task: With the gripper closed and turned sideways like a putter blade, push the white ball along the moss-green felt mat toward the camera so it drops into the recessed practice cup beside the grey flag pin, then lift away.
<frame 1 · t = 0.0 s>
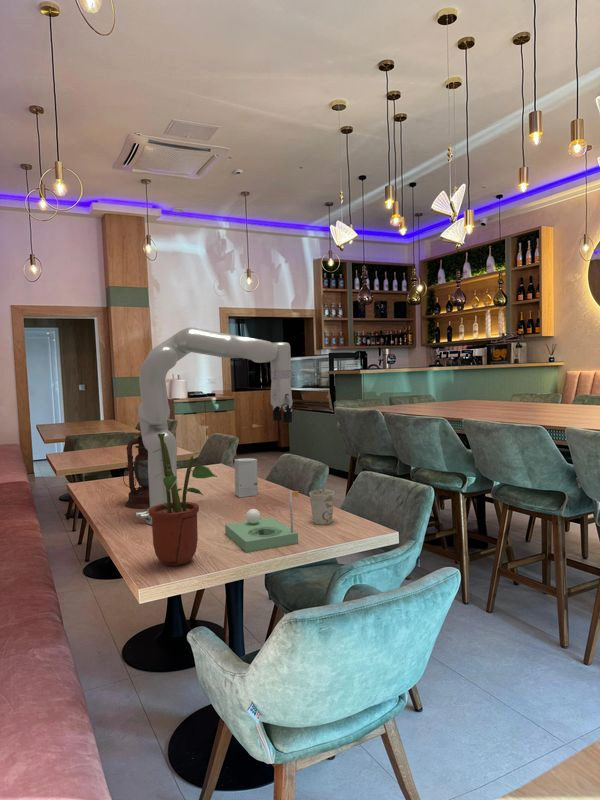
hand: (282, 421, 207), 31 cm above the table, fingers open, 9 cm apart
ball: (253, 516, 172), point 5 cm above the table, touching putting mat
putting mat: (260, 538, 167), on the table
skincare box: (246, 495, 224), on the table
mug: (319, 521, 185), on the table
potted plant: (183, 560, 151), on the table
lantern: (150, 503, 216), on the table
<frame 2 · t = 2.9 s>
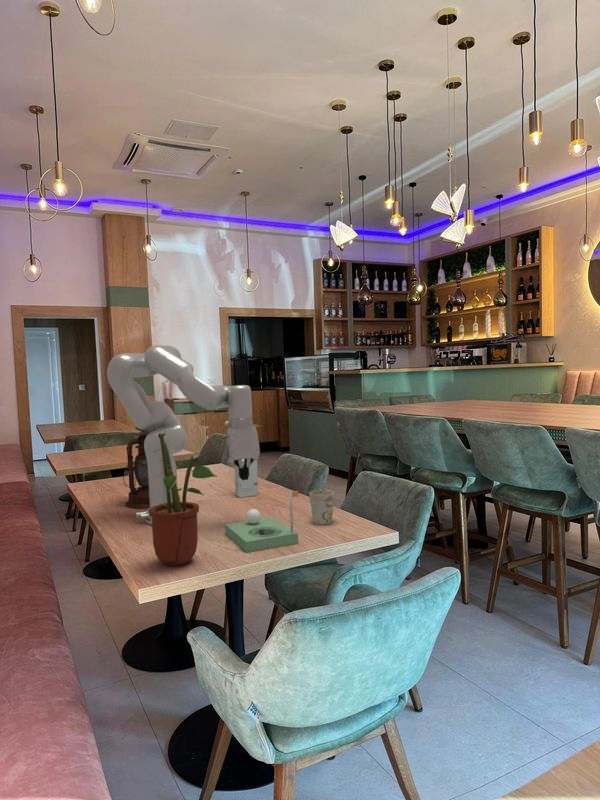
hand: (244, 479, 180), 15 cm above the table, fingers closed
nothing on the table moved.
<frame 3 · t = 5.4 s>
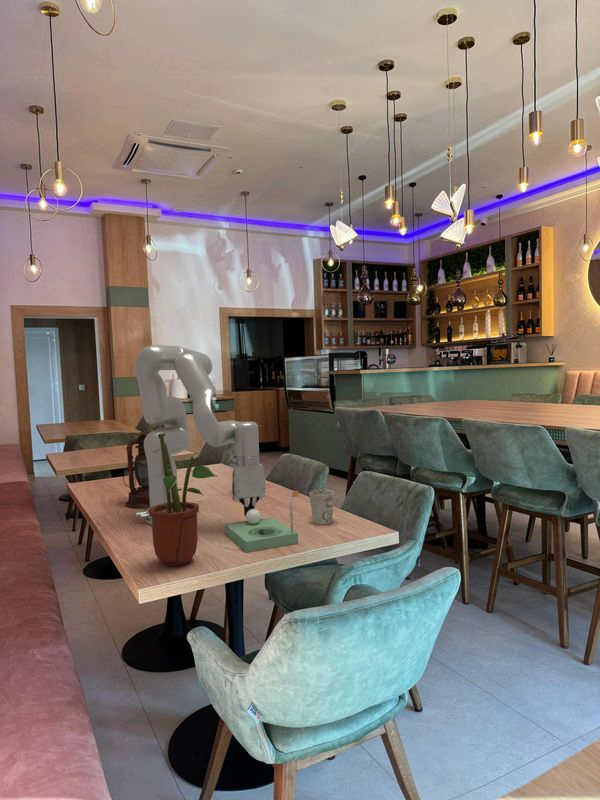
hand: (249, 517, 176), 4 cm above the table, fingers closed
ball: (253, 516, 172), point 5 cm above the table, touching gripper, putting mat
everything else where it was.
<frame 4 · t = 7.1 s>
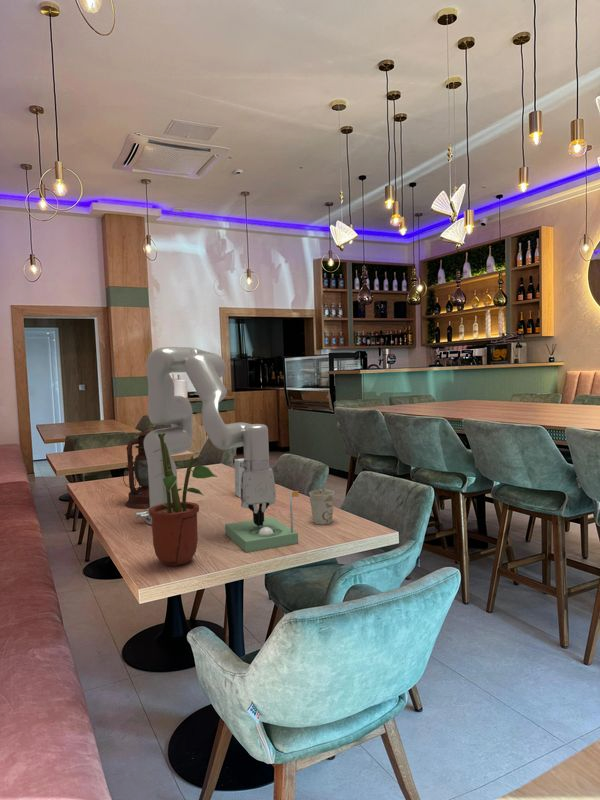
hand: (258, 524, 168), 4 cm above the table, fingers closed
ball: (266, 534, 163), point 2 cm above the table, tilted 70°
everything else where it was.
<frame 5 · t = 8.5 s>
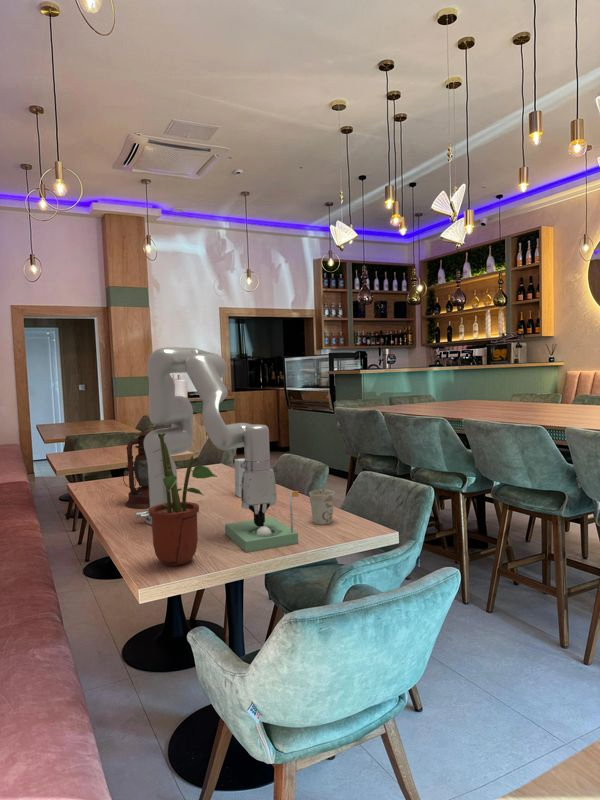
hand: (259, 525, 168), 4 cm above the table, fingers closed
ball: (263, 534, 164), point 2 cm above the table, tilted 89°
everything else where it was.
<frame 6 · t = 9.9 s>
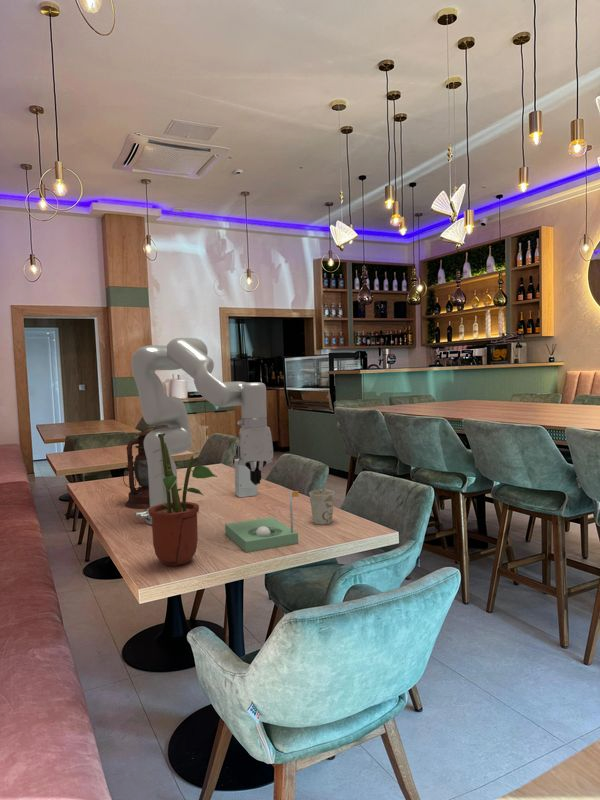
hand: (255, 483, 168), 17 cm above the table, fingers closed
ball: (263, 534, 164), point 2 cm above the table, tilted 95°
everything else where it was.
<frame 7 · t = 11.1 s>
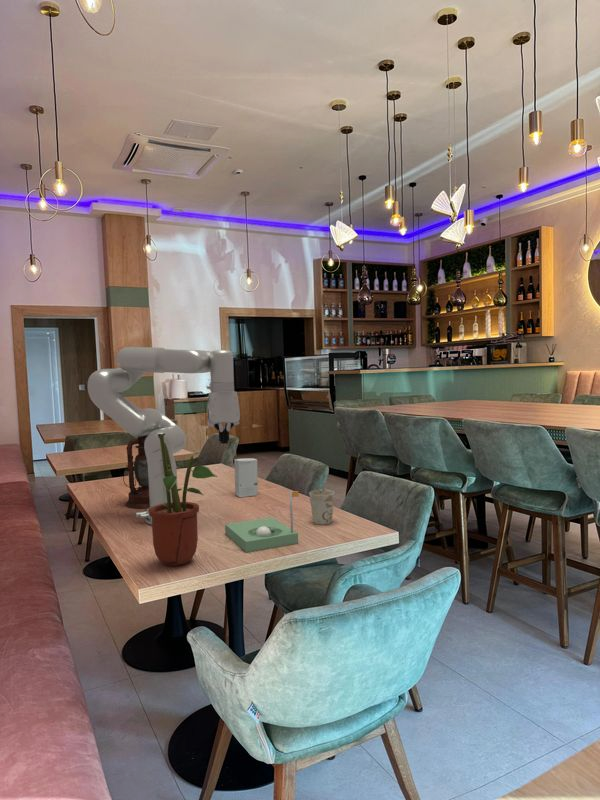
hand: (224, 443, 183), 27 cm above the table, fingers closed
nothing on the table moved.
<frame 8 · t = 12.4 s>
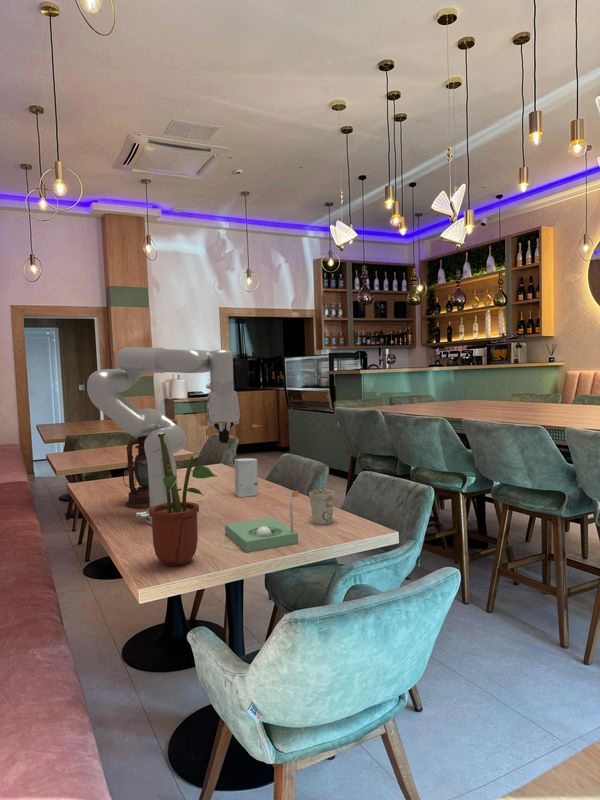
hand: (224, 442, 183), 27 cm above the table, fingers closed
nothing on the table moved.
at the end: ball 0.4 cm from the target spot in the putting mat, point 2.3 cm above the putting mat's base; ball point 2.3 cm above the table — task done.
